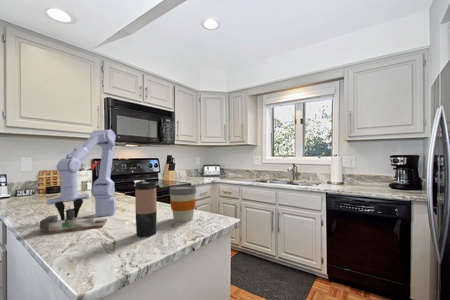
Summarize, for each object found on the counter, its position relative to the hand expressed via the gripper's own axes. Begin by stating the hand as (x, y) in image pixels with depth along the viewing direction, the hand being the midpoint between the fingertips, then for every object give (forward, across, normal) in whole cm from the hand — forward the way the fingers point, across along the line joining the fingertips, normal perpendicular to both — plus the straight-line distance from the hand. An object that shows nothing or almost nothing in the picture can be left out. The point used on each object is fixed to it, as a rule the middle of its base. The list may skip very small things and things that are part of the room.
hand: (69, 218), depth 91 cm
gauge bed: (+4, -2, +1) cm, 5 cm away
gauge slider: (+2, 0, +1) cm, 3 cm away
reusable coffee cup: (+4, -37, +30) cm, 48 cm away
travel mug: (+4, -16, +34) cm, 38 cm away
